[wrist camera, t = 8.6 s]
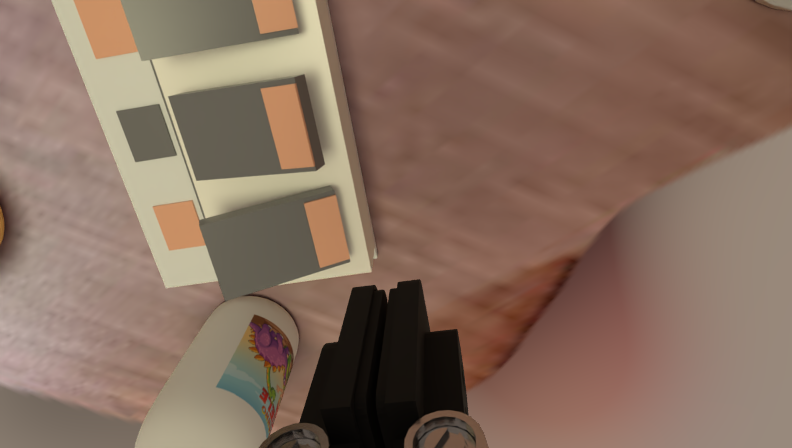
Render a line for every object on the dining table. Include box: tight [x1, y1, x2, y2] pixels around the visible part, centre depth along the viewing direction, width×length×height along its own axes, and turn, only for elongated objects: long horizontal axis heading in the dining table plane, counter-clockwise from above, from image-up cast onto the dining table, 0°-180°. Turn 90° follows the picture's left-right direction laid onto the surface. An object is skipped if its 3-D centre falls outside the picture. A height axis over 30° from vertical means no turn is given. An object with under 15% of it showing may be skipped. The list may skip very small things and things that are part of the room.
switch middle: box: [168, 74, 325, 181], centre depth 27 cm, size 8×5×1 cm, turn 99°
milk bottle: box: [135, 296, 299, 448], centre depth 31 cm, size 8×8×20 cm
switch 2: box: [199, 185, 350, 301], centre depth 30 cm, size 8×5×1 cm, turn 100°
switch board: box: [51, 0, 378, 288], centre depth 31 cm, size 17×24×5 cm
